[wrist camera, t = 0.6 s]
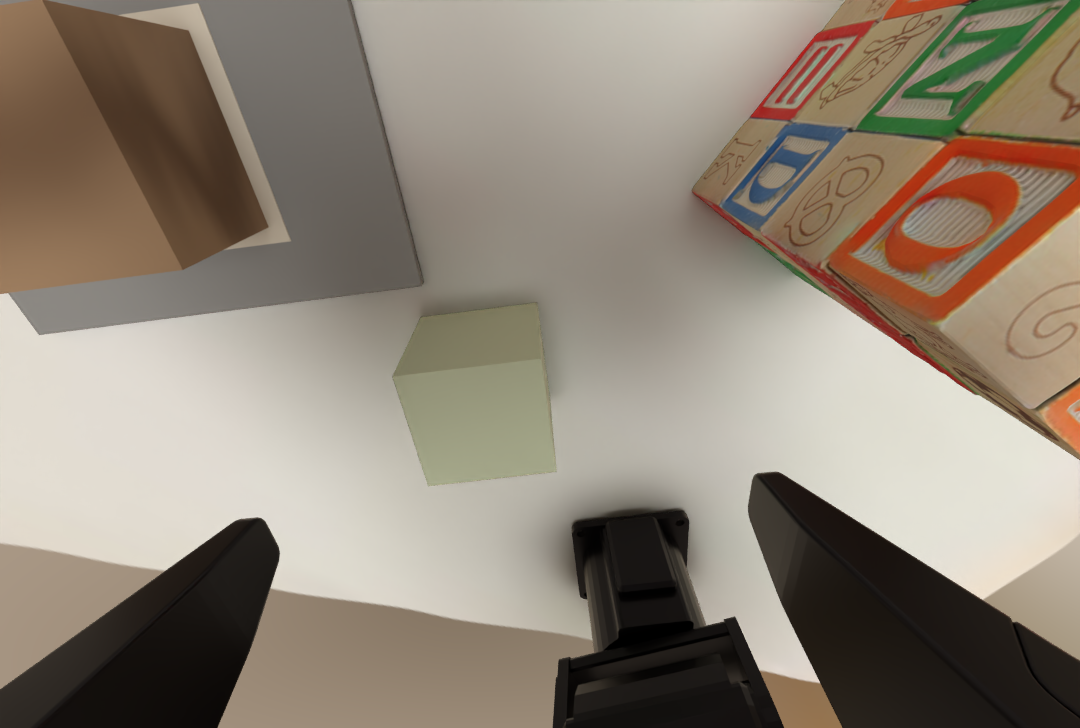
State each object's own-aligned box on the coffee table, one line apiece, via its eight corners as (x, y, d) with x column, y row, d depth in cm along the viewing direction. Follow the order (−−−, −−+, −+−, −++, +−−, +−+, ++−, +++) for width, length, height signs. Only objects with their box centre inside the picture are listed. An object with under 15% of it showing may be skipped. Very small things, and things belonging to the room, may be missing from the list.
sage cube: (550, 398, 22) (556, 471, 18) (446, 410, 22) (428, 486, 18) (537, 301, 20) (540, 358, 15) (420, 316, 20) (392, 376, 15)
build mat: (423, 282, 19) (421, 286, 18) (47, 330, 19) (37, 335, 19) (291, -231, 12) (283, -242, 12) (-289, -136, 12) (-316, -144, 12)
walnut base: (268, 227, 17) (182, 269, 13) (113, 248, 17) (-25, 297, 13) (188, 30, 14) (41, -1, 10) (1, 58, 14) (-225, 38, 10)
